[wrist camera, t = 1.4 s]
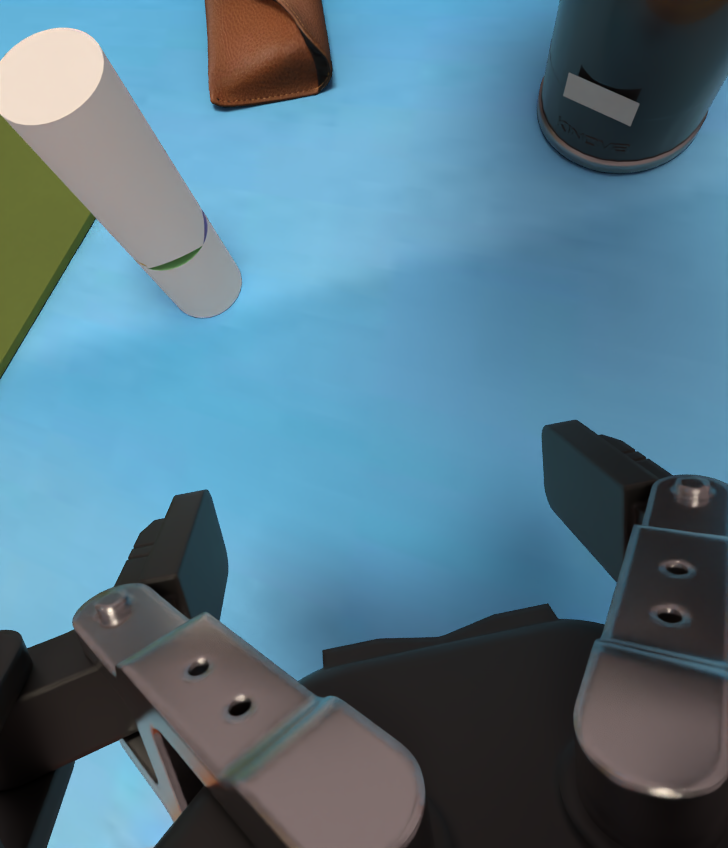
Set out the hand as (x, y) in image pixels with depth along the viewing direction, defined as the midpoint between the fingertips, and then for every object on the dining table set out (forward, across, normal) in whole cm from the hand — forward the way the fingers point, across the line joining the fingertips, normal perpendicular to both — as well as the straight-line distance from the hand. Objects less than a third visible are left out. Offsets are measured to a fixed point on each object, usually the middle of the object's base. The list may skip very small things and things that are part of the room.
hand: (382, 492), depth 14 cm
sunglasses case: (+36, 0, -20) cm, 42 cm away
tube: (+24, +7, -3) cm, 26 cm away
